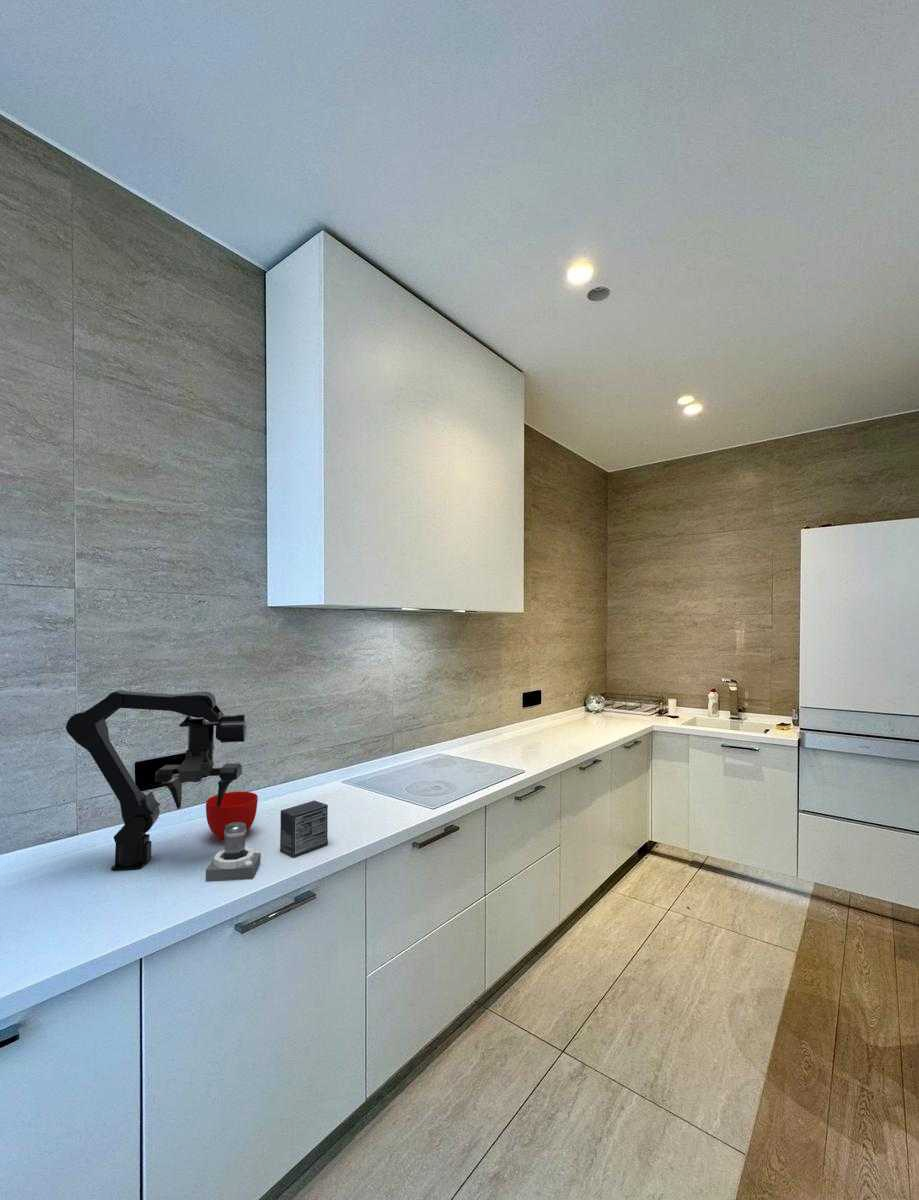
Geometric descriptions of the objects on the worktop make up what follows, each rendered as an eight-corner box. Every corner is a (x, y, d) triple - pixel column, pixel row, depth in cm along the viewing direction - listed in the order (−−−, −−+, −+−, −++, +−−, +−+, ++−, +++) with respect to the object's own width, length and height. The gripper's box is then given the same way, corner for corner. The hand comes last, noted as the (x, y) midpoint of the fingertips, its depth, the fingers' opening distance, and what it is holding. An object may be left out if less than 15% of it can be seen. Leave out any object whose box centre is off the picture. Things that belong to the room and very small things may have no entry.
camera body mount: (205, 881, 120) (205, 863, 120) (216, 865, 128) (217, 848, 129) (252, 879, 122) (252, 860, 122) (260, 863, 130) (260, 846, 130)
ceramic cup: (272, 823, 156) (273, 788, 156) (241, 847, 139) (242, 807, 139) (229, 821, 157) (230, 786, 158) (194, 844, 140) (195, 805, 141)
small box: (313, 838, 145) (314, 799, 145) (328, 845, 141) (329, 804, 141) (278, 851, 137) (279, 809, 137) (293, 858, 133) (294, 815, 133)
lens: (234, 866, 122) (236, 830, 122) (218, 862, 124) (220, 827, 124) (249, 858, 127) (251, 823, 127) (233, 854, 128) (235, 820, 128)
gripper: (146, 752, 124) (143, 821, 124) (231, 750, 127) (229, 818, 126) (165, 741, 135) (163, 805, 135) (243, 740, 138) (241, 802, 137)
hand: (198, 807), depth 133 cm, fingers open, 9 cm apart
